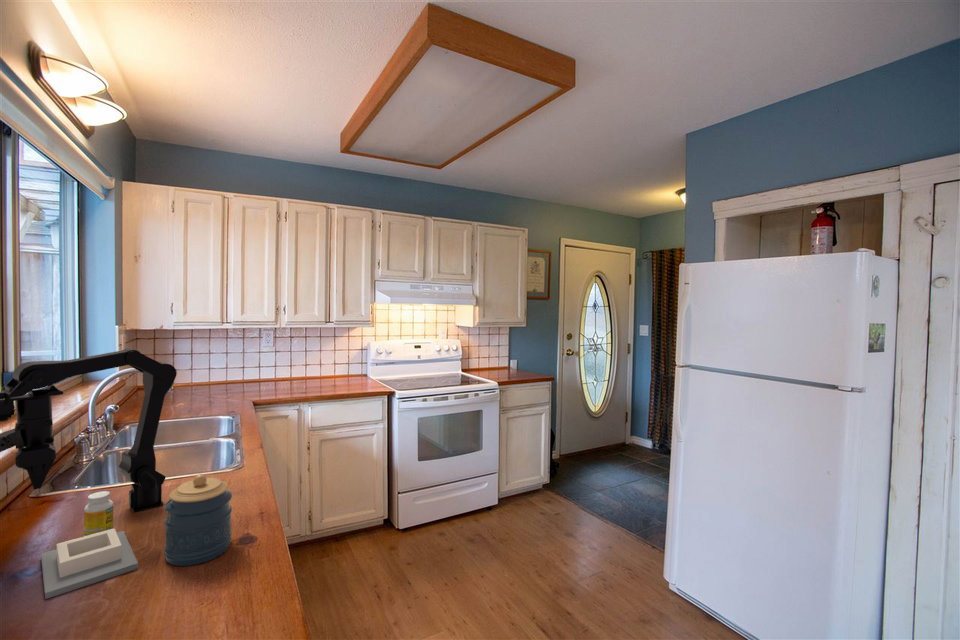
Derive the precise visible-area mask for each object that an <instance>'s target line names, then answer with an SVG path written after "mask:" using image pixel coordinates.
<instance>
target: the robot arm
mask: <svg viewBox="0 0 960 640" xmlns="http://www.w3.org/2000/svg"><path fill="white" fill-rule="evenodd" d="M124 366H129V367H132V368H133V369H134V370H136V371H138V372H140V373H142V386H143V390H144V397H143V400H142V405H141V406H142V407H141V410H140V415H139V418H138V419H139V420H138V424H137V428H136V432H135V437H134V441H133V445H132V447H131V448H130V449H129V451H127V452H125V451H122V453H121V460H120V463H119V465H118V468H119V469H120V473H121V475H122V476H123V477H125V478H126V479H128V480H129V481H130V482H131V488H130V490H129V491H128V507H129V508H130V509H131V510H132V512H133V513H137V512H141V511H145V510H149V509H153V508H157V507H161V506H163V505H164V502H163V501H162V499H163V497H162V494H163V493H162V492H163V491H162V490H163V489H162V486H163V484H164V483H165V481H166V476H165V475H164V474H162V473H160V472H159V471H157V470H156V469H157V464H156V463H157V462H156V461H157V459H156V454H155V442H156V438H157V432H158V429H159V424H160V420H161V416H162V415H161V414H162V411H163V405H164V401H165V399H166V398H165V397H166V395H167V394H168V392H169V391H170V390H171V388H172V387H173V385H174V382H175V380H176V377H177V375H178V374H177V369H176V367H175V366H174V365H172V364H171V363H167V362H162V361H157V360H155V359H153V358H152V357H149V356H147V355H145V354H143V353H141V351H139V350H137V349H133V348H125V349H121V350H118V351H117V350H116V351H113V352H112V351H111V352H105V353H101V354H95V355H90V356H89V355H88V356H83V357H79V358H73V359H68V360H67V359H65V360H36V361H35V360H34V361H26V362H23V363H20V364H19V365H18V366H17V367H16V368H15V369H14V370H13V372H12V378H10V380H9V381H8V382H7V383H5V385H4V386H3V387H2V388H1V389H0V423H2V422H3V423H5V422H7V421H8V419H11V418H12V417H13V416H14V415H15V403H16V422H15V423H14V425H15V426H14V428H11V429H9V430H5V431H4V432H0V453H1V452H4V451H6V450H9V449H11V448H13V447H15V449H16V450H17V452H15V459H14V460H15V467H17V468H19V469H23V470H24V471H25V470H26V472H27V474H28V478H29V480H30V483H31V486H32V488H33V489H34V490H39V489H41V488H42V487H43V484H44V483H45V481H46V478H47V476H48V475H49V472H50V470H51V468H52V466H53V465H54V463H55V461H56V459H57V452H56V446H54V443H55V442H54V441H55V439H54V431H53V430H54V429H53V427H54V426H53V425H54V423H53V403H52V397H53V396H54V397H55V396H61V395H62V396H63V394H64V392H63V391H62V390H60V389H58V388H57V387H56V386H55V384H58V383H61V382H62V381H64V380H68V379H70V378H72V377H76V376H81V375H87V374H90V373H95V372H99V371H100V372H101V371H105V370H110V369H114V368H121V367H124Z"/></svg>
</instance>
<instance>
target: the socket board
mask: <svg viewBox="0 0 960 640" xmlns="http://www.w3.org/2000/svg"><path fill="white" fill-rule="evenodd" d="M40 553H41V554H40V555H41V557H40V559H41V561H40V562H41V569H42V578H43V580H42V581H43V588H44V589H43V590H44V597H45V598H44V599H45V600H47V599H50V598H53V597H56V596H59V595H62V594H65V593H68V592H71V591H74V590H77V589H80V588H83V587H87V586H90V585H93V584H96V583H99V582H101V581H105V580H108V579H110V578H114V577H116V576H120V575H123V574H126V573H128V572H132V571H135V570H138V569H139V562H138V559H137V557H136V555H135V553H134V551H133V549H132V546H131V545H130V543H129V540H128V537H127V535H126V533H125V531H124V530H121V531H118V532H117V531H116V529H115V528H114V527H113V529H110V530H106V531H102V532H99V533H95V534H91V535H88V536H84V535H83V536H80V537H77V538H74V539H70V540H66V541H63V542H58V543H56V548H55V549H53V550H48V551H44V552H40Z"/></svg>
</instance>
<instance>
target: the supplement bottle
mask: <svg viewBox="0 0 960 640" xmlns="http://www.w3.org/2000/svg"><path fill="white" fill-rule="evenodd" d="M110 529H114V502H113V501H112V500H111V493H110V491H96V492H93V493H91V494H90V495H88V497H87V504H86V505H85V507H84V509H83V537H84V536H88V535H91V534H95V533H99V532H102V531H106V530H110Z"/></svg>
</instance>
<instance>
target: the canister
mask: <svg viewBox="0 0 960 640" xmlns="http://www.w3.org/2000/svg"><path fill="white" fill-rule="evenodd" d="M228 488H229V483H227V482H226V481H224V480H221V479H220V478H216V477H207V476H206V475H205V474H197V475H195V477H194V478H193V479H192V480H188V481H185V482H183V483H181V484H180V485H179V486H178V487H176V488H175V489H173V490H172V491H171V492H170V493H169V500H168V501H166V503H165V505H164V510H165V512H166V513H167V516H166V518H165V519H164V522H163V523H164V525H165V529H164V530H165V531H164V532H165V535H164V537H165V538H164V539H165V542H164V547H163V550H164V551H163V552H164V557H165V560H166V562H167V563H168V564H170V565H173V566H179V567H186V566H187V567H189V566H196V565H199V564H204V563H207V562H210V561H211V560H214V559H216V558H217V556H218V557H220V556H221V555H223V554H224V553H225V552H227V550H228V549H229V548H230V546H229V545H231V541H232V529H231V528H232V527H231V526H232V525H231V524H232V512H233V508H232V505H231V504H230V501H231V500H232V498H233V493H232V492H231V491H230V490H228ZM228 547H229V548H228ZM223 552H224V553H223ZM222 553H223V554H222ZM219 555H220V556H219Z"/></svg>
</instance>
